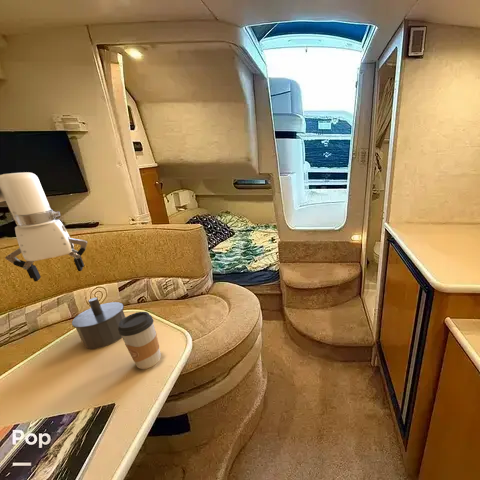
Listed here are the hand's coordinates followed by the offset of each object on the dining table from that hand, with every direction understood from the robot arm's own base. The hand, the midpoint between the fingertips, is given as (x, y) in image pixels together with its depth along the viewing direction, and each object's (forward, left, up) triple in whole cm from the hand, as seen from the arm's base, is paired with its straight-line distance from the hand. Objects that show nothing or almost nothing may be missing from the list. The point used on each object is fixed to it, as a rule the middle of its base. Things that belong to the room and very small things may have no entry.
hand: (59, 274), depth 79 cm
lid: (+3, +4, -18) cm, 18 cm away
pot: (+3, +4, -26) cm, 27 cm away
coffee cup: (+22, -14, -26) cm, 37 cm away
